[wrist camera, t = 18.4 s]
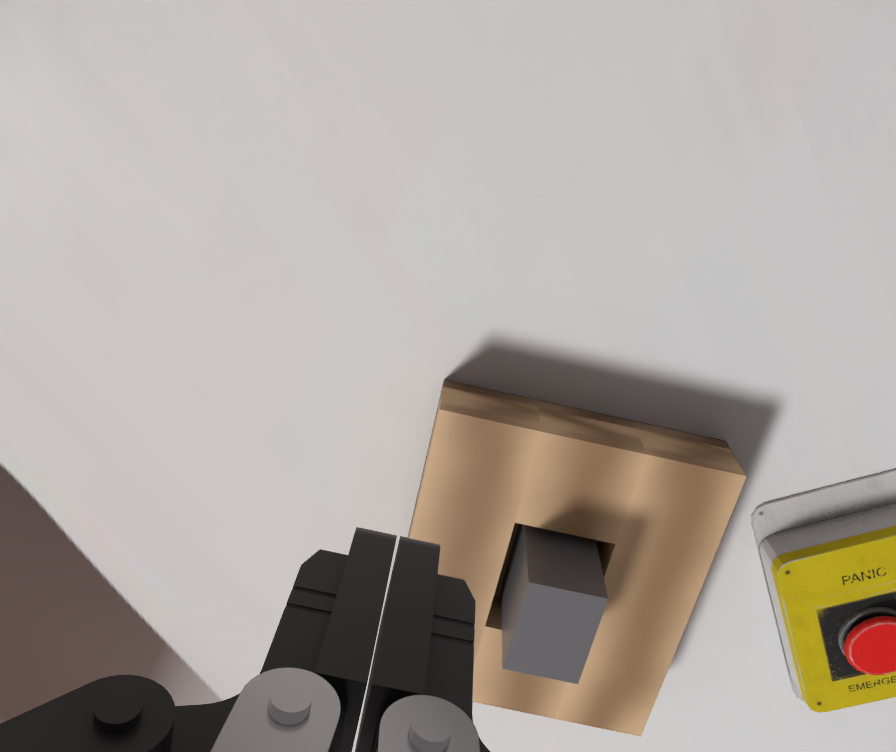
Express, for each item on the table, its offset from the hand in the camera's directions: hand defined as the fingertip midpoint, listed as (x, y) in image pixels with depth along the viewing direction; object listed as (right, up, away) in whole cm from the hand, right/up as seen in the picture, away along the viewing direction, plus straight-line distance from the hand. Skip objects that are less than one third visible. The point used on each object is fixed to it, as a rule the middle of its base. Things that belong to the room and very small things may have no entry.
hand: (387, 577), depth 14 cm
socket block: (+7, -7, +34) cm, 35 cm away
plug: (+7, -7, +33) cm, 34 cm away
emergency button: (+25, -9, +34) cm, 43 cm away
